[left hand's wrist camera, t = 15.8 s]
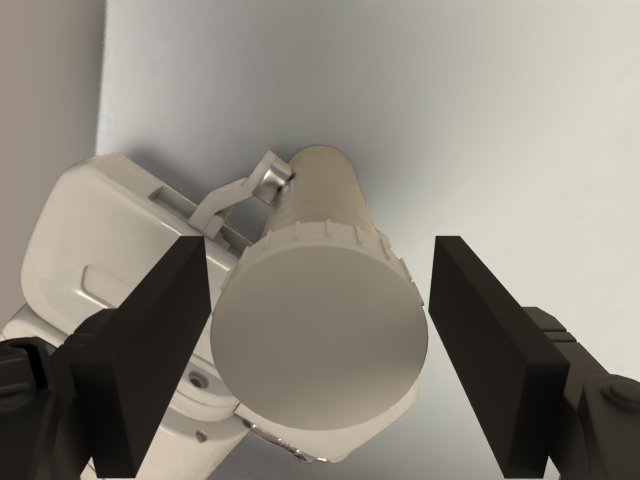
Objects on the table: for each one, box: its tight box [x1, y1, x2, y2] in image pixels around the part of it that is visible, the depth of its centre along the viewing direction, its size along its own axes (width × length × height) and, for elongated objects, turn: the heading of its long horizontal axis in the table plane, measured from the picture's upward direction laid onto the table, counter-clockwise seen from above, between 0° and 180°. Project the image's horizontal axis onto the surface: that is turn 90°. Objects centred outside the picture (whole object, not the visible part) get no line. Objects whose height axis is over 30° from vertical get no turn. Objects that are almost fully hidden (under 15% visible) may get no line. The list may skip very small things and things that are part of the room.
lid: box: [210, 219, 428, 431], centre depth 11 cm, size 5×5×2 cm
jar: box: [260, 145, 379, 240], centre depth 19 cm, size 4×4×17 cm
